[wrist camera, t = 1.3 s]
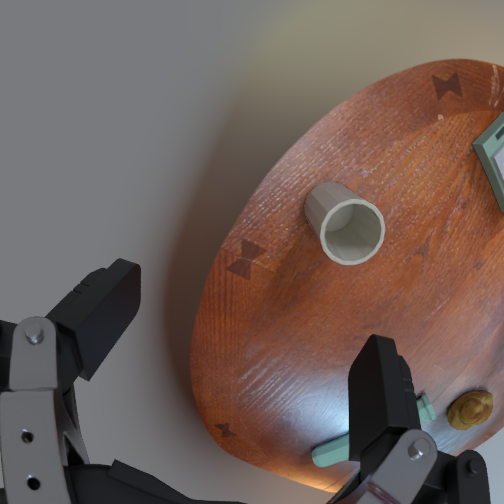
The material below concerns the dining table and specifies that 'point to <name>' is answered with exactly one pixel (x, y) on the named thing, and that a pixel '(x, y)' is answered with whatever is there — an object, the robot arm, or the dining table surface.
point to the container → (340, 446)
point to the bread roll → (470, 409)
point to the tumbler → (344, 223)
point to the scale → (493, 156)
